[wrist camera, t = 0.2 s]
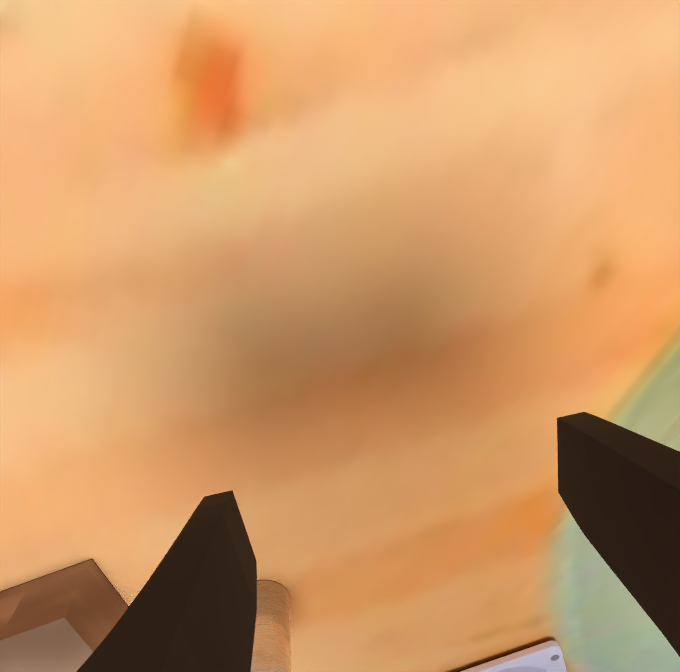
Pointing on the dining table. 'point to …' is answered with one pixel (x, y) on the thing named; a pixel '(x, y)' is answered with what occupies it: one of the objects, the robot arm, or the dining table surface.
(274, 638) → the pin
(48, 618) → the hole block
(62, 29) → the dining table surface
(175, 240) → the dining table surface
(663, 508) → the robot arm
